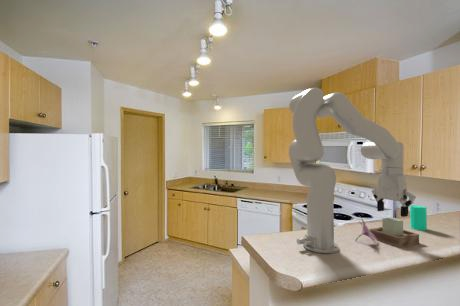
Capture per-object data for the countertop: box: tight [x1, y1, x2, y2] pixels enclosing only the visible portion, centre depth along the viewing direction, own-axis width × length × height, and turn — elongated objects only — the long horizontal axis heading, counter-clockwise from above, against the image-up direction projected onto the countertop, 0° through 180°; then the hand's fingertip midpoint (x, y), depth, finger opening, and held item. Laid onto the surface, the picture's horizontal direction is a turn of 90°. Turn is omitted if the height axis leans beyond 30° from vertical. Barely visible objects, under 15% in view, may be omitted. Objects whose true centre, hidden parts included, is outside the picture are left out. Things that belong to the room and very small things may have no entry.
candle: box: [409, 204, 428, 231], centre depth 111 cm, size 6×6×12 cm
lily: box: [355, 216, 380, 247], centre depth 94 cm, size 12×12×10 cm
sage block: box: [382, 216, 404, 236], centre depth 96 cm, size 5×5×6 cm
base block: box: [368, 226, 420, 248], centre depth 96 cm, size 12×12×4 cm
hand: (391, 213), depth 96 cm, fingers open, 9 cm apart
